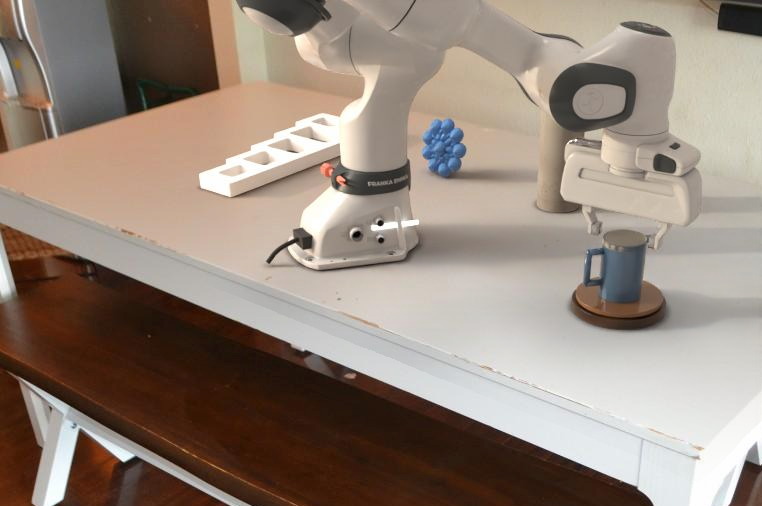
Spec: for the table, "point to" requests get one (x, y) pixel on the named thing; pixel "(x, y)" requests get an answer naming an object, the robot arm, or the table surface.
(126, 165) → the table surface
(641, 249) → the blue mug on coaster
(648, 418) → the table surface
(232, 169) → the holder
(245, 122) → the table surface
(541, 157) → the thermos bottle
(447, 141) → the grapes
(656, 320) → the turntable base
